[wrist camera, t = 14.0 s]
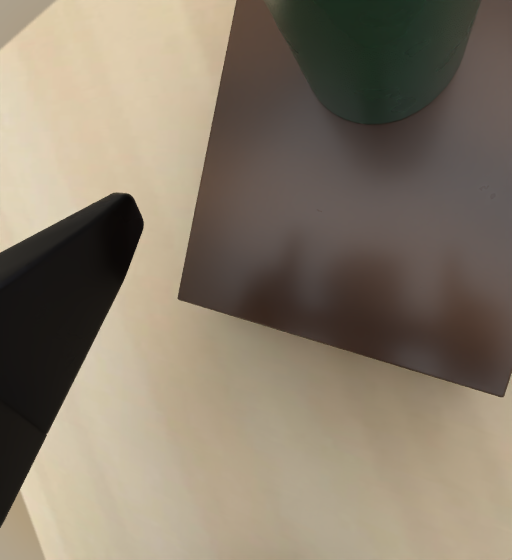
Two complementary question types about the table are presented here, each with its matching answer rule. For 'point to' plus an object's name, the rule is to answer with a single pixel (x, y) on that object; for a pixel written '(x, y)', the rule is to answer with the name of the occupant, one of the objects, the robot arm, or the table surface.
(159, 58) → the table surface
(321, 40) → the tea tin
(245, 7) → the shelf
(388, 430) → the table surface
